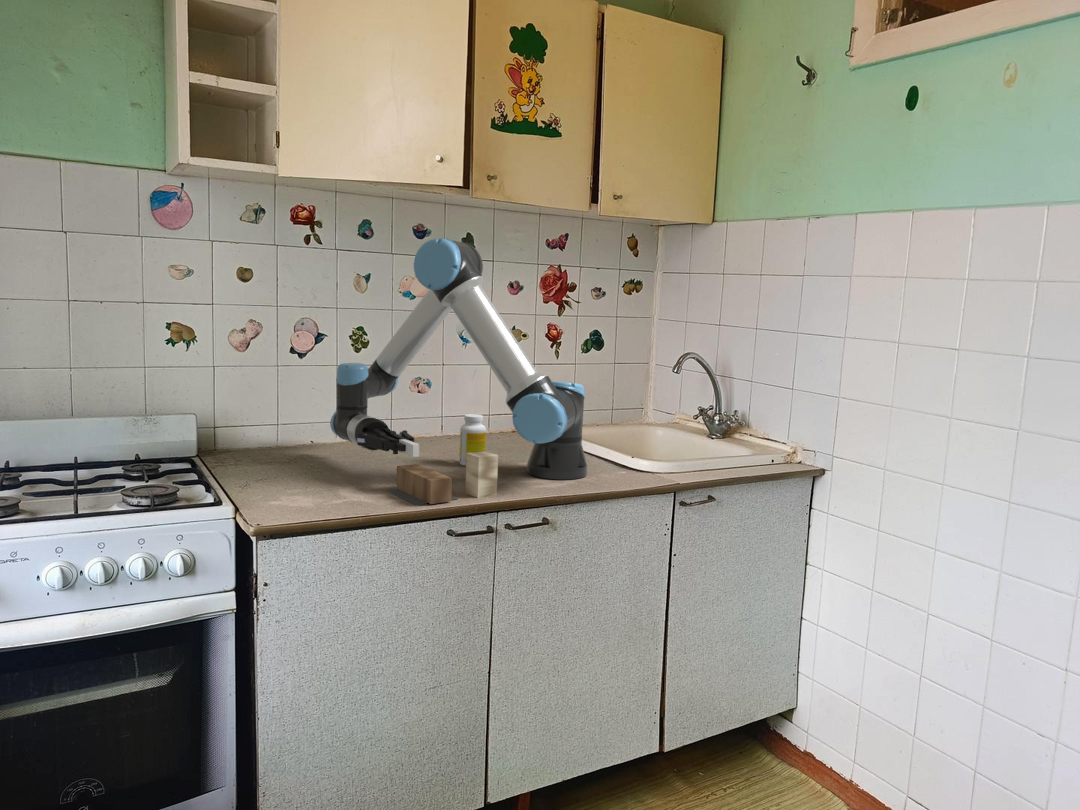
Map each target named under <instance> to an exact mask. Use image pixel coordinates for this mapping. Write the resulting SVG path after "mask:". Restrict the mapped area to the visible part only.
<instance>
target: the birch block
mask: <svg viewBox="0 0 1080 810" xmlns="http://www.w3.org/2000/svg"><path fill="white" fill-rule="evenodd" d="M465 468H466V469H465V492H464V493H465V494H466V495H469V494H470V495H469V496H472V497H474V498H476V497H477V499H479V498H480V499H481V498H487V496H488V497H493V496H492V495H495V496H497V494H498V473H499V472H498V470H499V469H498V468H499V455H498V454H496V453H492V452H489V451H487V450H486V451H482V452H472V453H467V457H466V466H465Z"/></svg>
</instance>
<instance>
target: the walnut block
mask: <svg viewBox="0 0 1080 810" xmlns="http://www.w3.org/2000/svg"><path fill="white" fill-rule="evenodd" d="M452 484H453V478H452V477H450V476H447V475H446V474H443V473H441V472H438V471H436V470H433V469H432V468H431V469H430V468H429V467H426V466H423V465H420V464H418V463H413V464H405V465H404V464H403V465H397V466H396V489H399V490H402V491H404V492H406V493H408V494H410V495H412V496H414V497H416V498H418V499H420V500H423V501H425V502H427V503H429V504H428V505H434V504H440V503H448V502H452V500H451V495H452V487H453V486H452Z"/></svg>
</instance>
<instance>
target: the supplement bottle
mask: <svg viewBox="0 0 1080 810" xmlns="http://www.w3.org/2000/svg"><path fill="white" fill-rule="evenodd" d="M483 421H484V415H482V414H475V413H468V414H464V424H462V425H461V426H460V430H459V431H460V432H459V433H460V434H459V438H460V439H459V440H460V441H459V464H460V465H461V466H463V467H466V457H467V453H472V452H482V451H487V449H486V448H487V427H486V426H485V425H483V424H482V423H483Z"/></svg>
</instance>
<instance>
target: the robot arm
mask: <svg viewBox="0 0 1080 810" xmlns="http://www.w3.org/2000/svg"><path fill="white" fill-rule="evenodd" d="M413 260H414V261H413V273H414V275H415V278H416V279H417V281H418V282H419V284H421V286H423V287H424V288H425V289H428V291H426V293H425V295H424V296H423V297H422V299H421V300H419V302H418V303H417V304H416V306H415V307H414V309H413V310H412V311H411V313H410V314H409V315H408V316H407V318H406V320H404V322H403V323H402V325H401V326H400V327H399V328H398V330H396V332H395V333H394V335H393V336H392V338H391V339H390V340H389V341H388V343H387V344H386V345H385V346H384V347H383V349H382V350H381V351H380V353H379V354H378V356H377V357H376V358H375V360H374V361H373V362H372V364H371V365H370V366H369V367H368V365H367V364H365V363H360V362H347V363H346V362H344V363H343V362H342V363H340V364H338V366H337V368H336V369H337V370H336V371H337V372H336V378H335V380H336V411H334V413H333V414H332V416H331V418H330V428H331V432H333V434H334V435H335V436H337V437H339V438H340V439H342V440H345V441H348V442H350V443H353V444H355V445H357V446H361V448H362V449H366V450H368V451H378V450H380V451H384V452H389V451H392V454H393V455H398V454H399V453H402V454H404V455H407V456H409V457H412V458H414V457H415V458H416V457H418V458H419V457H420V443H417V442H415V437H414V436H412V435H411V434H410V433H408V430H402V431H399V433H397V431H396V430H391V429H390V427H389V426H388V425H387V424H386V423H385V422H384V421H383V420H381V419H379V418H377V417H373V416H370V415H368V399H371V398H374V397H379V396H385V395H387V394H389V393H392V392H394V390H395V389H396V388H397V387H398V383H399V377H400V376H401V374H402V373H403V372H404V371H405V370H406V368H407V367H408V366H409V364H410V363H411V362H412V361H413V359H414V358H415V357H416V355H417V354H418V353H419V352H420V351H421V349H422V348H423V347H424V346H425V344H426V343H427V342H428V341H429V339H430V338H431V337H432V336H433V334H434V333H435V331H436V330H437V329H438V327H439V326H440V325H441V324H442V323H443V321H444V320H445V319H446V317H447V316H448V315H449V313H450V312H451V311H453V312H454V314H455V316H456V317H457V319H458V320H459V321H460V323H461V325H462V327H464V329H465V331H466V332H467V334H468V335H469V337H470V338H471V340H472V342H473V344H475V346H476V347H477V349H478V350H479V352H480V354H481V355H482V356H483V358H484V360H485V361H486V363H487V364H488V366H489V367H490V369H491V370H492V372H493V373H494V375H495V377H496V378H497V380H498V381H499V382H500V384H501V386H502V387H503V389H504V390H505V392H506V398H505V404H506V406H507V407H508V408H509V410H510V411H511V413H512V418H511V420H512V425H513V427H514V429H515V431H516V432H517V434H518V435H519V436H520V437H521V438H522V439H524V440H526V441H527V442H529V443H532V444H533V446H532V449H531V451H530V454H529V458H528V460H527V463H526V472H527V473H528V474H529V475H530V476H534V477H537V478H541V479H550V480H577V479H581V478H584V477H586V476H588V462H587V459H586V455H585V452H584V448H583V444H582V443H583V440H582V439H583V425H584V423H583V421H584V408H585V407H584V406H585V405H584V404H585V400H586V399H585V398H586V395H585V388H584V387H585V386H584V385H583V384H581V383H575V382H566V381H564V382H563V381H554V380H553V381H552V379H551V377H549V375H548V374H545V373H540V372H539V371H538V370H537V369H536V368H535V366H534V364H533V363H532V362H531V360H530V358H529V357H528V355H527V353H525V351H524V349H523V348H522V346H521V344H520V343H519V341H518V339H517V338H516V337H515V336H514V334H513V333H512V331H511V329H510V328H509V326H508V325H507V323H506V322H505V320H504V319H503V317H502V316H501V314H500V313H499V311H498V309H497V308H496V307H495V305H494V304H493V302H492V300H491V299H490V298H489V296H488V294H487V293H486V292H485V290H484V288H483V283H484V277H483V275H482V274H483V270H484V269H483V267H484V264H483V259H482V256H481V254H480V253H479V251H478V250H477V249H476V247H474V246H473V245H471V244H470V243H467V242H465V241H458V240H452V239H449V238H446V237H440V238H439V237H438V238H432V239H429V240H427V241H426V242H424V243H423V244H421V246H419V248H418V249H417V252H416V253H415V255H414V259H413Z"/></svg>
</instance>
